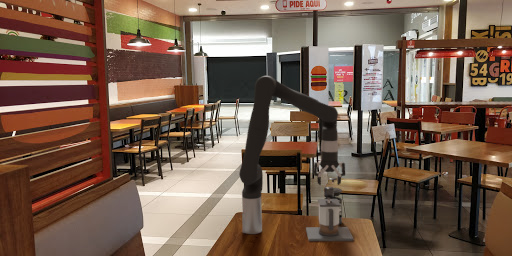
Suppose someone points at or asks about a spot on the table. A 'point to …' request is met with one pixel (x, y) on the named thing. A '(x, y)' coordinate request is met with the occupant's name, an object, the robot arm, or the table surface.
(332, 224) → the carafe
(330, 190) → the plunger
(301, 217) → the table surface
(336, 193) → the french press
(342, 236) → the slate board
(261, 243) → the table surface
